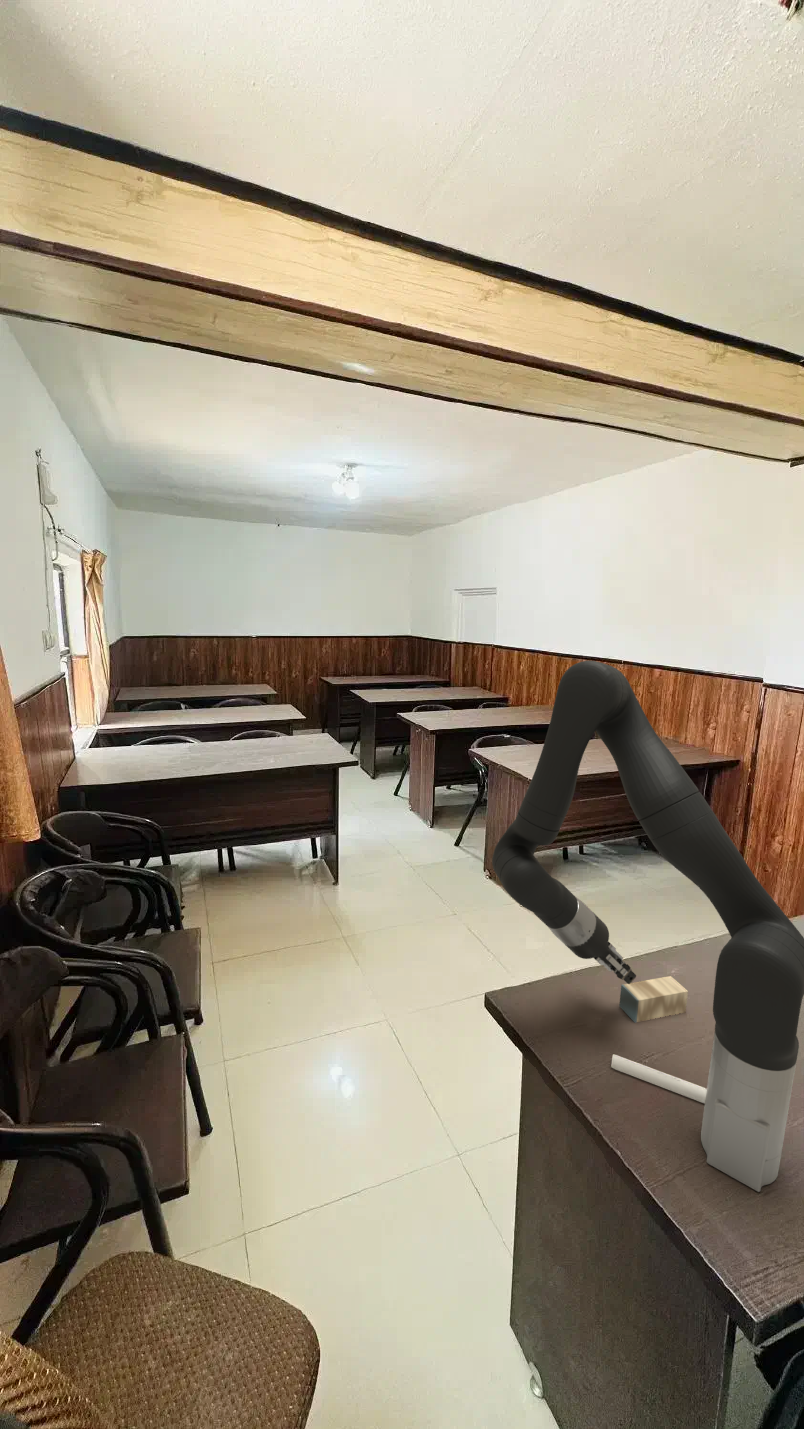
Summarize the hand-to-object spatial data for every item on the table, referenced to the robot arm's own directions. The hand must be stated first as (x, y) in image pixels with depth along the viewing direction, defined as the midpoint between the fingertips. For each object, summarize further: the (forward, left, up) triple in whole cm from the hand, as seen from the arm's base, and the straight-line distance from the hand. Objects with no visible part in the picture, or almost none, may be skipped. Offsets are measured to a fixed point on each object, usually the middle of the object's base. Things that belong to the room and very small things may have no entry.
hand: (630, 977), depth 101 cm
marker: (-12, -11, -8) cm, 18 cm away
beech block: (0, 0, -5) cm, 5 cm away
